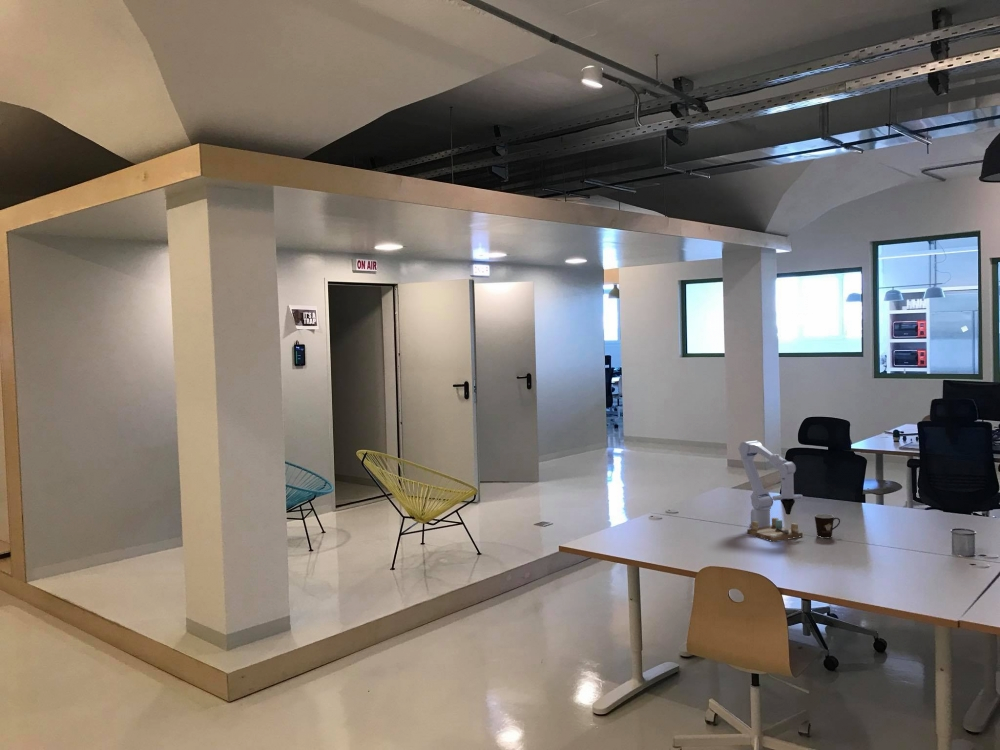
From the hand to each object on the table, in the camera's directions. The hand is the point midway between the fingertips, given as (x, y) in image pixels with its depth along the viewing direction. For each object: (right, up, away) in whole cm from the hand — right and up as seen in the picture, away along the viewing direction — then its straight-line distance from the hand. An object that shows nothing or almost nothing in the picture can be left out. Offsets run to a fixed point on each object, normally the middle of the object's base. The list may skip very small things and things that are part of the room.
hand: (787, 514), depth 377 cm
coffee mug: (+16, -9, -9) cm, 21 cm away
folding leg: (-4, -7, -4) cm, 9 cm away
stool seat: (-7, -10, -2) cm, 13 cm away
